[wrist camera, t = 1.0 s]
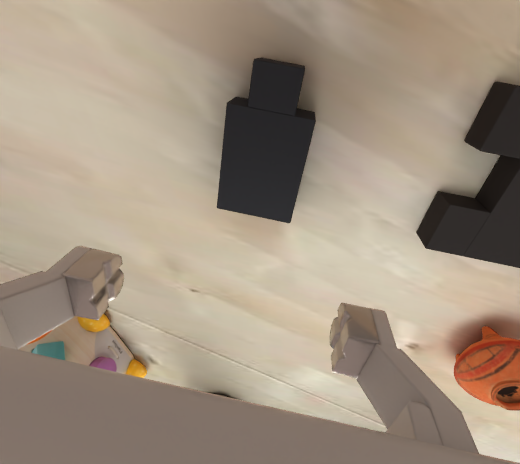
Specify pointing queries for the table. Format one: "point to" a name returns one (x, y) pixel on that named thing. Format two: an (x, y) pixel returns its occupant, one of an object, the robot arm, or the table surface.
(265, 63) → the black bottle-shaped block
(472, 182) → the table surface
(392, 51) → the table surface
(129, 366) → the shape sorter
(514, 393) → the pot
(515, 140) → the black notched square block
